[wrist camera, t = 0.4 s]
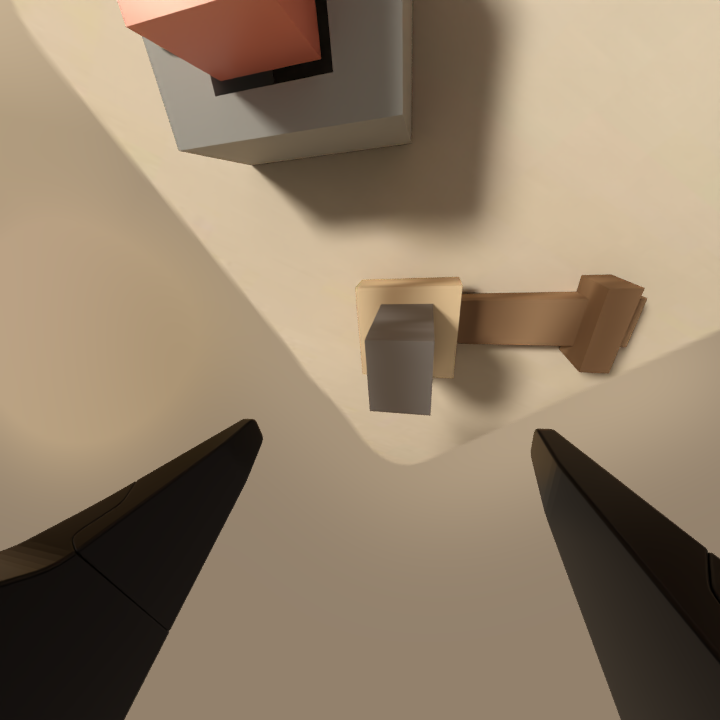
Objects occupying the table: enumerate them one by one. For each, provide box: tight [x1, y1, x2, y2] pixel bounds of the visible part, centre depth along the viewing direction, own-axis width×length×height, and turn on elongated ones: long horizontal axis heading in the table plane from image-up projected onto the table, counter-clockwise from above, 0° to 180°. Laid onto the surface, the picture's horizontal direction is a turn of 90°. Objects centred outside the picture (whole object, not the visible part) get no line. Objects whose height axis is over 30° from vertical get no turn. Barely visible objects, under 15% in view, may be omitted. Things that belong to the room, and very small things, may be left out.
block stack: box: [355, 277, 463, 415], centre depth 16 cm, size 6×6×7 cm
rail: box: [457, 275, 647, 373], centre depth 18 cm, size 16×5×3 cm, turn 95°
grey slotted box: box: [142, 0, 413, 165], centre depth 12 cm, size 10×8×6 cm
